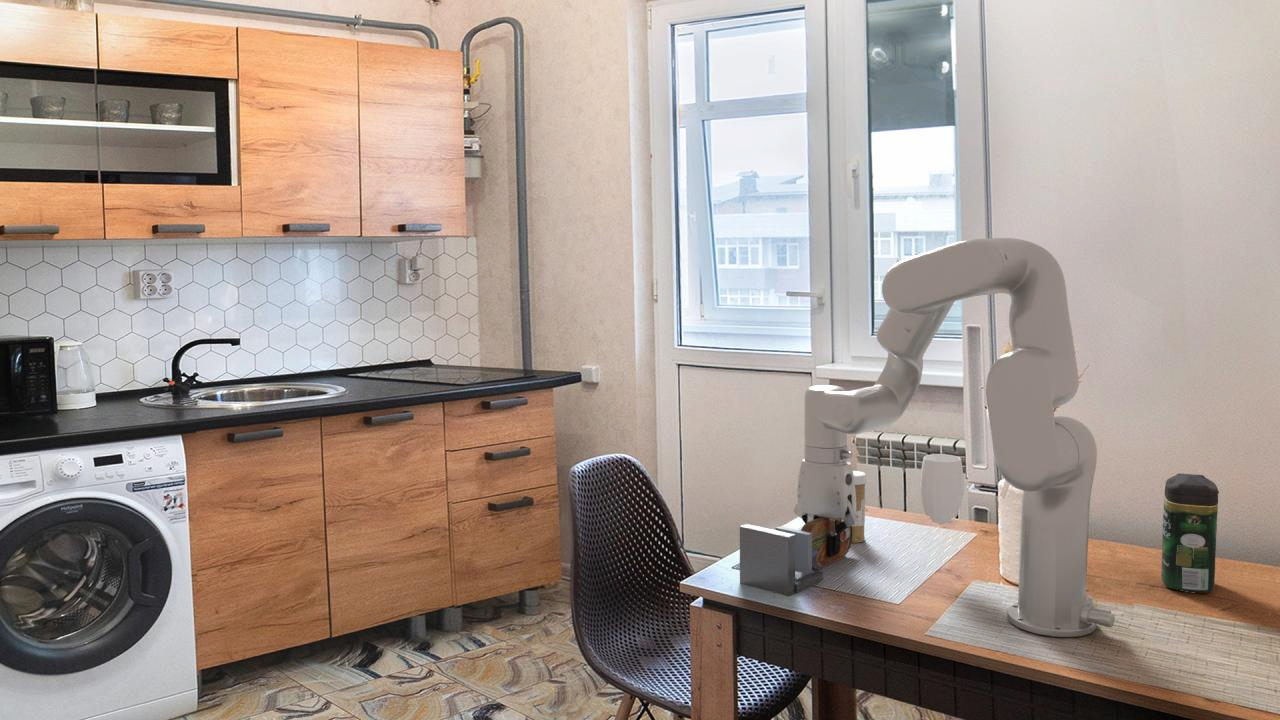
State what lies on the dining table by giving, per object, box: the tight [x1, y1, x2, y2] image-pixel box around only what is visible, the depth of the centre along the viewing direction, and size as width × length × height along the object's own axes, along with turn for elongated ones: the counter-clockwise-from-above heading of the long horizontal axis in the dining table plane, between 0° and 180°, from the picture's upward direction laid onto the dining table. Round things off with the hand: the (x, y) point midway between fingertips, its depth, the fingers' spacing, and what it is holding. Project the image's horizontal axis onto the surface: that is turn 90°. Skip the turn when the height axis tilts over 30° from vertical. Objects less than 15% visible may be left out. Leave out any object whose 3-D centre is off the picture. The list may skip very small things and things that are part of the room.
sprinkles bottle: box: [851, 470, 867, 544], centre depth 198 cm, size 5×5×13 cm
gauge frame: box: [739, 523, 824, 597], centre depth 175 cm, size 11×10×10 cm
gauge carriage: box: [774, 525, 813, 575], centre depth 178 cm, size 9×1×7 cm, turn 47°
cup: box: [919, 453, 965, 525], centre depth 177 cm, size 7×7×21 cm
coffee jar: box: [1161, 473, 1220, 594], centre depth 169 cm, size 10×8×19 cm
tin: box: [800, 515, 853, 570], centre depth 185 cm, size 15×3×8 cm, turn 137°
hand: (825, 552), depth 185 cm, fingers closed on tin, 2 cm apart
